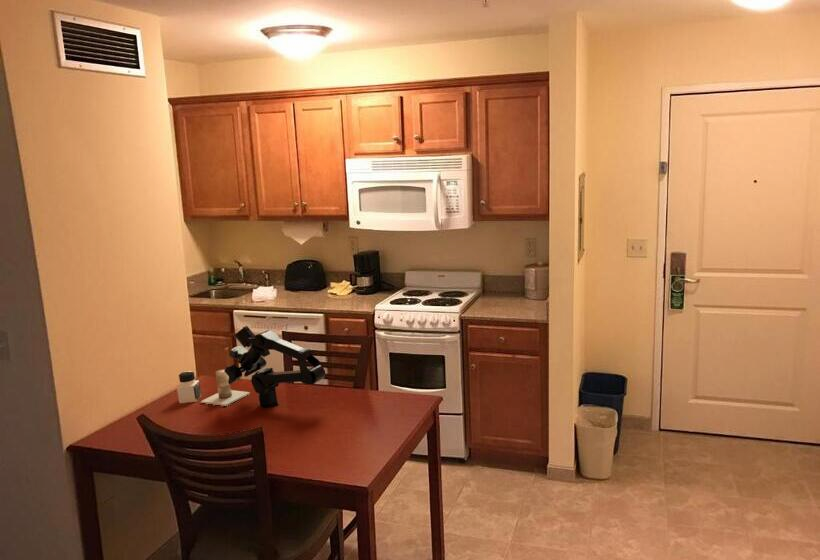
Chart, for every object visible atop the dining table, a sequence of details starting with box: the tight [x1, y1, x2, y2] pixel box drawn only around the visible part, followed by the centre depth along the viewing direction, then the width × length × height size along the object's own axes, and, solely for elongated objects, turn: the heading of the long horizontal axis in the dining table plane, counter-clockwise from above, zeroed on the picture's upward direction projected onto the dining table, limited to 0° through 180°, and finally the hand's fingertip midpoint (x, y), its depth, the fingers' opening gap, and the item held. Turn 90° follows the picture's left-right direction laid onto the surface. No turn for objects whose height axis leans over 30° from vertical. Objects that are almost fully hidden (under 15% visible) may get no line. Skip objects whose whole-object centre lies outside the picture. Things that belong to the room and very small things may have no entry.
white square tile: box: [200, 389, 251, 407], centre depth 275 cm, size 14×14×1 cm
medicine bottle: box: [176, 370, 202, 404], centre depth 278 cm, size 7×7×12 cm
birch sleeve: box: [215, 368, 232, 399], centre depth 274 cm, size 5×5×11 cm
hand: (237, 379), depth 270 cm, fingers open, 9 cm apart
